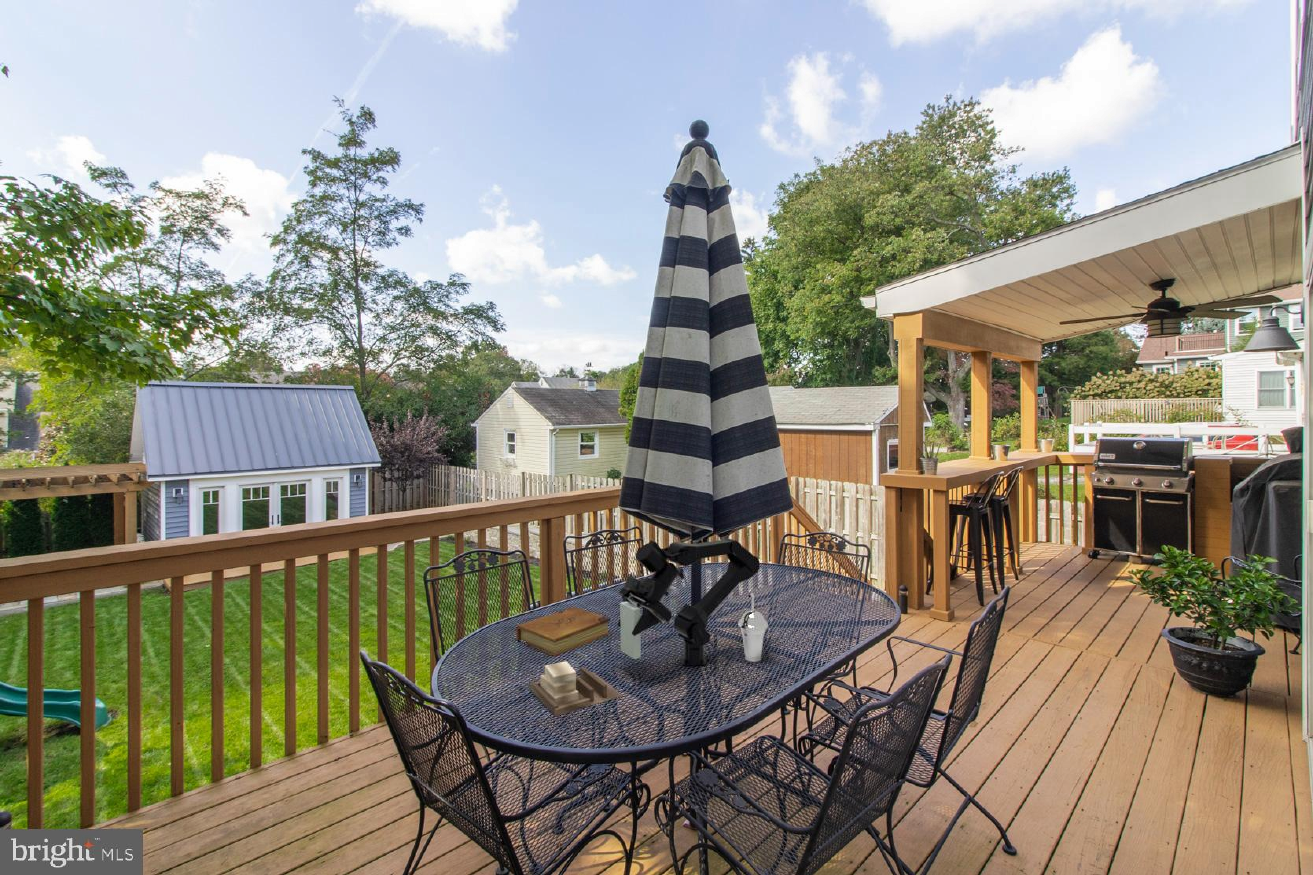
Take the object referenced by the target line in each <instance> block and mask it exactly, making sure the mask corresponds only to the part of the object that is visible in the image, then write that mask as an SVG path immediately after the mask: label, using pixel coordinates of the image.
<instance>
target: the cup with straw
mask: <svg viewBox="0 0 1313 875" xmlns="http://www.w3.org/2000/svg"><path fill="white" fill-rule="evenodd" d="M748 597H749V598H751V600H750V601H751V609H750V610H747V611H745V612H744V613H743V614H742V616H741V618H740V619H739V620H738V623H737V625H738V627H740V631H741V635H742V641H743V642H742V644H743V652H744V653H743V654H744V656H745V657H744V659H745V660H746V661H748V662H753V663H755V662H760V661H761V660H762V652H763V645H764V636H765V633H766V629H767V628H768V627H769V624H768V621H766V619H765V617H764V616H763V614H762V612H759V611H758V610H755V608H754V607H755V594H754V593H753V592H751V593H750V594H748Z"/></svg>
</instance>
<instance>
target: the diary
mask: <svg viewBox="0 0 1313 875" xmlns="http://www.w3.org/2000/svg"><path fill="white" fill-rule="evenodd" d="M609 622H611V617H608V616H605V615H602V614H599V613H595V612H591V611H588V610H586V609H583V608H579V607H576V606H572V607H568V608H566V609H564V610H560V611H558V612H554V613H551V614H548V615H545V616H542V617H539V618H536V619H533V620H531V621H530V620H529V621H527V622H524V623H522V624H518V625H517V626H516V627H515V628H516V630H515V631H516V633H515V634H516V641H517V640H521V639H522V640H525V641H526V642H524V643H526V644H528V645H530V646H532V647H531V648H533V649H535V648H537V649H539V650H538V651H540V650H541V651H540V652H542V651H544V652H543V653H545V652H546V653H545V654H547V653H548V654H547V655H550V656H552V655H554V656H555V657H557V656H559V655H562V654H564V652H565V653H567V652H570V651H572V650H574V649H577V648H579V647H582V645H583V646H585V645H588V644H590V643H592V641H593V642H595V641H598V640H600V639H603V638H606V637H608V636H610V634H611V633H612V632H611V631H609V626H608V624H609ZM607 635H608V636H607ZM602 637H603V638H602ZM597 639H598V640H597ZM594 640H595V641H594ZM528 645H527V646H528ZM530 646H529V647H530ZM537 649H536V650H537ZM566 651H567V652H566ZM561 653H562V654H561ZM556 655H557V656H556ZM554 656H553V657H554Z"/></svg>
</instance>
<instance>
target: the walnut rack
mask: <svg viewBox="0 0 1313 875" xmlns="http://www.w3.org/2000/svg"><path fill="white" fill-rule="evenodd" d="M576 690H577V691H578V701H576V702H573V703H569V704H566V705H563V706H558V705H557V704H556V703H555V702H554V701H553V700H552V699H551V698H550V697H549V696H548V695H547V694H546V693H545V692H544V691H543V690H542V689H541V685H540V680H539V681H532V682H530V683H529V691H530V692H531V693H532V694H533V695H534V696H535V697H536V698H537V699H538V700H539V701H540V702H541V703H542V704H543V705H544V706H545V707H546V709H548V710H549V711H550V713H551V714H552V715H553V716H554V717H559V716H562V715H565V714H568V713H572V712H575V711H578V710H581V709H585V708H588V707H592V706H594V705H597V704H600V703H603V702H608V701H610V700H614V699H617V698H621V697H624V695H623V694H622V693H620V692H619V691H618V690H616V689H615V688H614V687H613V686H611V685H610V684H609V683H607V682H606V681H605V680H604V679H602V678H601V677H600V676H599V675H597V674H596V673H595V672H591V671H589V669H587V668H586V667H585V666H582V667H579V675H578V674H576Z"/></svg>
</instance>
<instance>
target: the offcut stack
mask: <svg viewBox="0 0 1313 875" xmlns="http://www.w3.org/2000/svg"><path fill="white" fill-rule="evenodd" d="M576 675H577V672H576V670H575V669H574V668H573V667H572V666H571V664H570V663H569V662H568V661H561V662H557V663H552V664H551V663H550V664H547V665H544V673H543V674H541V675H540V677H539V679H540V680H539V681H540V685H541V689H542V690H543V691H544V692H545V693H546V694H547V695H548V696H549V697H550V698H551V699H552V700H553V701H554V702H555V703H556V704H557V705H558V706H563V705H566V704H569V703H573V702H576V701H578V691H577V690H576Z"/></svg>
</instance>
